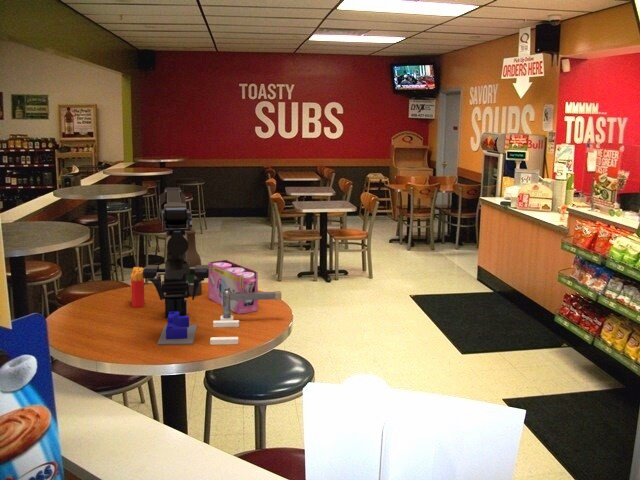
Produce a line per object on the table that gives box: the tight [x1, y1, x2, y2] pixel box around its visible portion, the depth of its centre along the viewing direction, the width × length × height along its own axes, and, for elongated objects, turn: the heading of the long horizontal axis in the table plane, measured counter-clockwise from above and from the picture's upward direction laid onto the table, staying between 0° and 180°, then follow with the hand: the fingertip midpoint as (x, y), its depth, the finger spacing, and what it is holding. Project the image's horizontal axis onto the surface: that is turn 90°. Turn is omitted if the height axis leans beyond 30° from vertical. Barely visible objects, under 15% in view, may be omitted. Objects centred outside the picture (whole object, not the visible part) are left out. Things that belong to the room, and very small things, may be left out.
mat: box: [156, 324, 198, 346], centre depth 182 cm, size 10×16×1 cm, turn 7°
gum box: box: [207, 259, 259, 315], centre depth 212 cm, size 24×8×14 cm, turn 37°
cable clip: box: [166, 312, 190, 339], centre depth 183 cm, size 12×4×6 cm
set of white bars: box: [209, 314, 240, 346], centre depth 187 cm, size 8×24×2 cm, turn 7°
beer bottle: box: [185, 229, 203, 297], centre depth 223 cm, size 8×8×24 cm
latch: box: [222, 290, 282, 318], centre depth 197 cm, size 3×19×9 cm, turn 99°
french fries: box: [130, 266, 145, 308], centre depth 209 cm, size 9×4×13 cm, turn 19°
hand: (177, 299), depth 180 cm, fingers open, 9 cm apart
